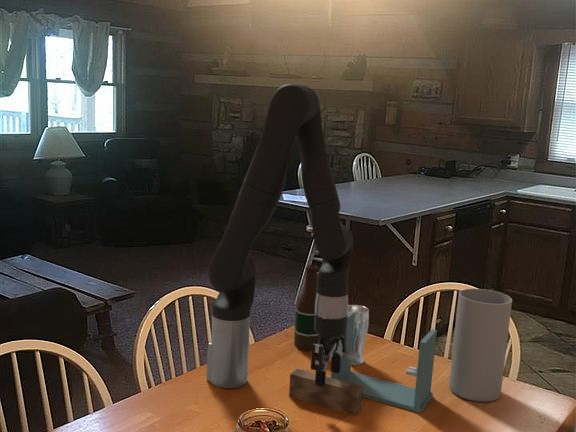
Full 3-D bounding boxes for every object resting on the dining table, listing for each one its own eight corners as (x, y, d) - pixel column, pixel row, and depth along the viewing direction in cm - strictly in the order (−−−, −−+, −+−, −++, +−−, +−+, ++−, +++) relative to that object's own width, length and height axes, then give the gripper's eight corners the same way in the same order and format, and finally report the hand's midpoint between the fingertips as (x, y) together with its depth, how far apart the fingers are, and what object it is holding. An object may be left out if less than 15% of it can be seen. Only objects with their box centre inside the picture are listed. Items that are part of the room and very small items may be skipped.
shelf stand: (327, 387, 155) (332, 321, 152) (343, 373, 164) (348, 311, 161) (420, 413, 144) (427, 343, 141) (432, 396, 153) (439, 330, 150)
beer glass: (338, 363, 170) (341, 310, 167) (342, 354, 176) (345, 303, 174) (363, 367, 168) (367, 314, 165) (366, 357, 175) (370, 306, 172)
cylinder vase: (485, 408, 148) (497, 307, 144) (439, 390, 157) (449, 294, 152) (509, 393, 157) (520, 297, 153) (463, 376, 166) (473, 285, 161)
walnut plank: (289, 397, 149) (290, 373, 148) (295, 391, 152) (297, 368, 151) (355, 416, 141) (357, 392, 140) (361, 410, 145) (363, 386, 143)
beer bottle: (308, 339, 186) (313, 261, 182) (326, 347, 180) (331, 267, 176) (288, 344, 181) (292, 264, 177) (305, 353, 175) (311, 270, 171)
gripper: (329, 301, 151) (326, 364, 153) (302, 317, 138) (299, 386, 141) (358, 306, 147) (354, 371, 150) (333, 323, 135) (329, 394, 137)
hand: (327, 378), depth 145 cm, fingers open, 8 cm apart
